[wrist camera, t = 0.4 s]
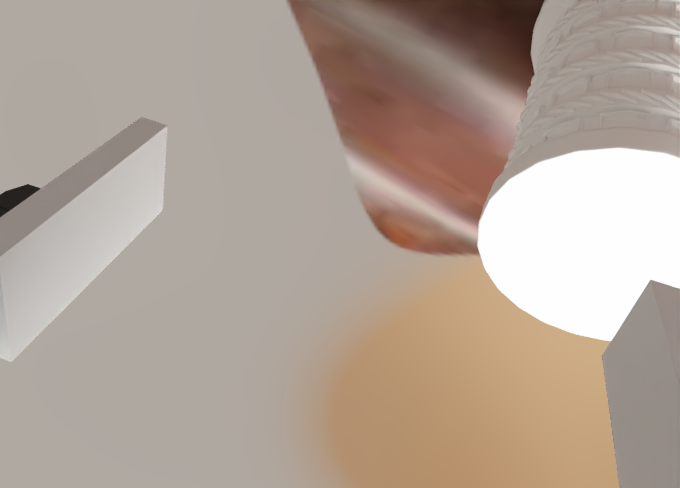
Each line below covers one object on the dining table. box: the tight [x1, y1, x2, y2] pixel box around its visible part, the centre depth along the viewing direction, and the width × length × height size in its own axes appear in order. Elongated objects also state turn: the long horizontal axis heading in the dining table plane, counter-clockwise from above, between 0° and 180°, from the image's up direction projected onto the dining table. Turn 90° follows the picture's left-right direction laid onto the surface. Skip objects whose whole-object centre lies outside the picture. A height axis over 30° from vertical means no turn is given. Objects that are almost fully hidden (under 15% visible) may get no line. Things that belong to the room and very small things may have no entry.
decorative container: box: [477, 0, 680, 341], centre depth 31 cm, size 12×12×18 cm
